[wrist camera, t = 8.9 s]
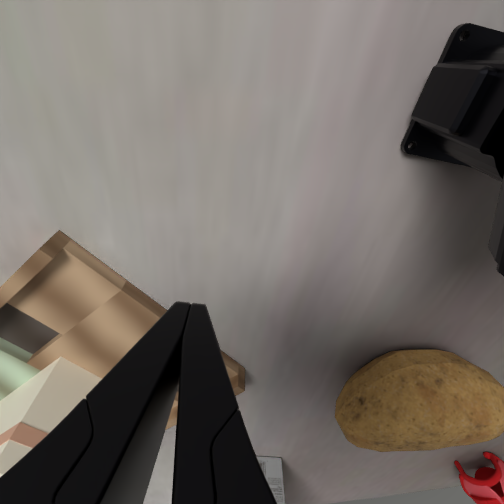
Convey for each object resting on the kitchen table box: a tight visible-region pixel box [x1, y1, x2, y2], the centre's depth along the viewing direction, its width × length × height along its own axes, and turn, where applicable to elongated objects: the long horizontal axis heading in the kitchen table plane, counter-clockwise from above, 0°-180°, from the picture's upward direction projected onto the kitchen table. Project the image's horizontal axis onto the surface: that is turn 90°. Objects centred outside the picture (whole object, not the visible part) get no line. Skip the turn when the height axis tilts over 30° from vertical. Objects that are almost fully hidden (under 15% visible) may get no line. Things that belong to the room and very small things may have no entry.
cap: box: [454, 452, 504, 504], centre depth 41 cm, size 8×6×6 cm
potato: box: [335, 349, 504, 452], centre depth 27 cm, size 10×14×8 cm
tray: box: [0, 231, 245, 430], centre depth 30 cm, size 27×21×2 cm
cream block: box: [0, 357, 101, 477], centre depth 27 cm, size 12×6×9 cm, turn 129°
